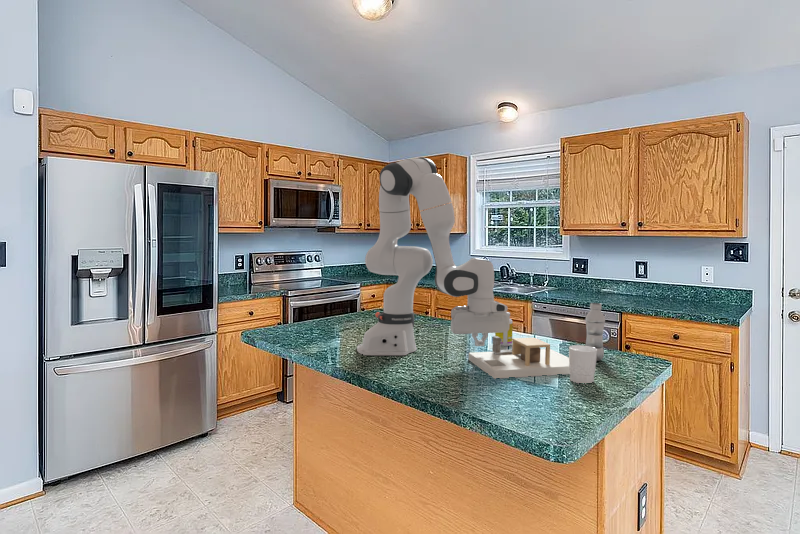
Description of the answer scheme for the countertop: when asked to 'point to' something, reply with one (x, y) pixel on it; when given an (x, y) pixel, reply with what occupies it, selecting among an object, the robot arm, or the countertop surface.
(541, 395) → the countertop surface
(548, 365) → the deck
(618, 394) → the countertop surface
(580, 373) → the white cup
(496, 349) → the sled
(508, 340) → the supplement bottle
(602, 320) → the plastic bottle
